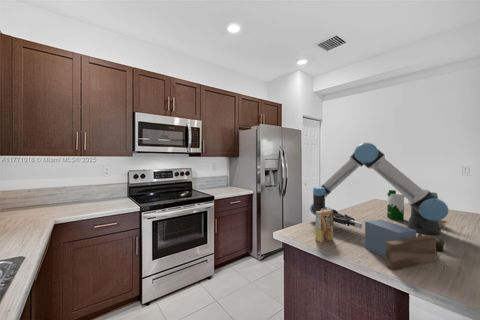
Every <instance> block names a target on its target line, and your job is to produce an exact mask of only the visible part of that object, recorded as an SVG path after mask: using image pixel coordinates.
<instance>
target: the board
mask: <svg viewBox="0 0 480 320" xmlns="http://www.w3.org/2000/svg"><path fill="white" fill-rule="evenodd" d="M436 240H437V237H435V236H432V235H430V234H424V235H423V236H419V237H417V236H416V237H413V238H407V239H401V240H395V241H389V242H386V258H385V267H386V268H388V269H390V270H392V271H398V270H402V269H407V268H411V267H415V266H420V265H425V264H429V263H435V262H436V261H437V260H436V258H437V257H436V255H437V249H436Z"/></svg>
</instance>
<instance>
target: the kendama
mask: <svg viewBox="0 0 480 320" xmlns="http://www.w3.org/2000/svg"><path fill="white" fill-rule="evenodd" d="M419 236H424V234H423V235H422V233H417V234H416V237H419ZM444 241H445V240H444V239H443V238H441V239H440V238H439V239H436V250H437V251H439V252H443V251H444V250H445V249H444V248H445V242H444Z"/></svg>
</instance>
